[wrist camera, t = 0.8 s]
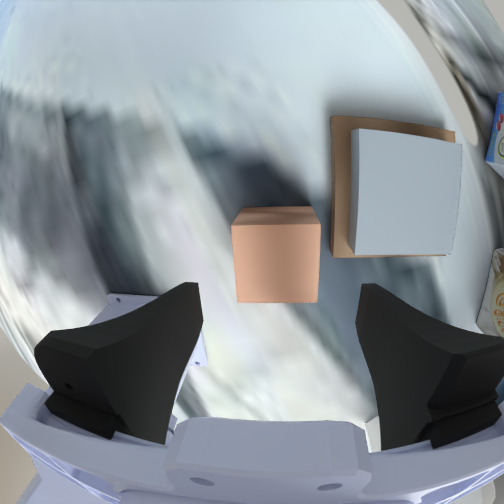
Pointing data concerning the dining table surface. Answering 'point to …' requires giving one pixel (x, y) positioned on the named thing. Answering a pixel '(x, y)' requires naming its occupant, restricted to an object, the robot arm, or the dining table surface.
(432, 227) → the top block
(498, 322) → the coffee box
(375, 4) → the dining table surface
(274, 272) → the terracotta cube
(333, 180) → the bottom block
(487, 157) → the medicine box
